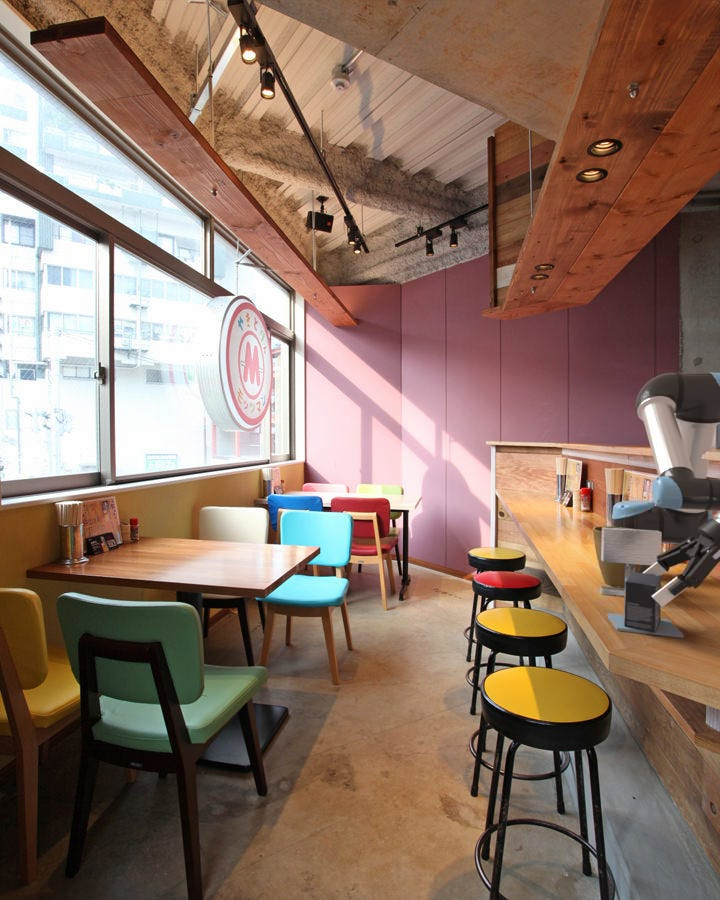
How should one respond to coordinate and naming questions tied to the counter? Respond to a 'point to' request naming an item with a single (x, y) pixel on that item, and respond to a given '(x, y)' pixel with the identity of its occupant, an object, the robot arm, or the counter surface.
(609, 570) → the plant pot
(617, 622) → the mat
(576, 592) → the counter surface
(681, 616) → the counter surface
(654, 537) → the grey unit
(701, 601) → the counter surface
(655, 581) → the small box
